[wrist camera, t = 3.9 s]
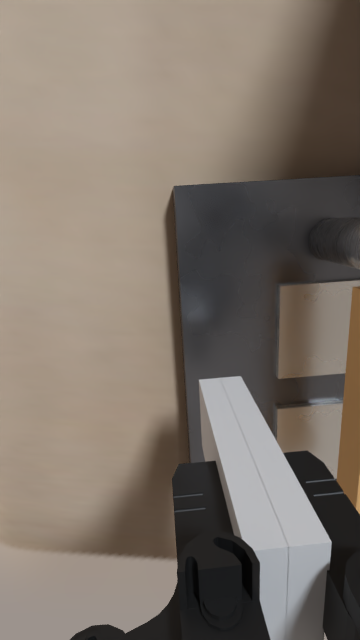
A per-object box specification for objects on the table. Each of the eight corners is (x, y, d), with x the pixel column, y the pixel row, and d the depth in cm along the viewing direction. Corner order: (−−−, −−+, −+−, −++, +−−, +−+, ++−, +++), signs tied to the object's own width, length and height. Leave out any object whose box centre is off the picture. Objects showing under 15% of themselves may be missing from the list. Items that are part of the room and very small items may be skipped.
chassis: (172, 188, 15) (189, 157, 7) (461, 171, 15) (747, 126, 8) (191, 491, 19) (213, 661, 12) (414, 469, 20) (568, 618, 13)
